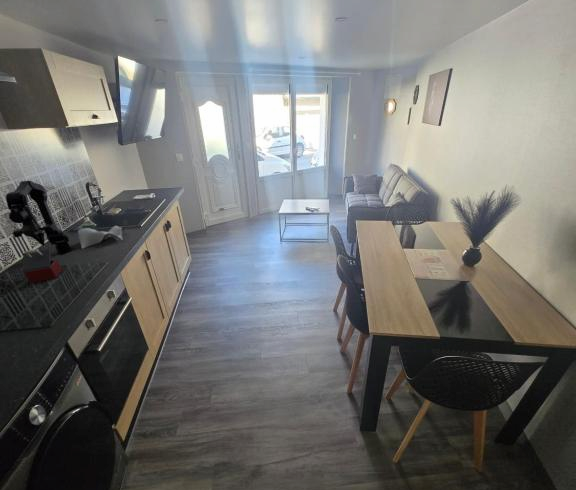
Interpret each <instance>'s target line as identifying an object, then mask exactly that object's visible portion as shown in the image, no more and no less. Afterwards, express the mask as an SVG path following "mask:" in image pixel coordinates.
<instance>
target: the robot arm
mask: <svg viewBox="0 0 576 490" xmlns="http://www.w3.org/2000/svg"><path fill="white" fill-rule="evenodd" d="M28 196H29V197H28ZM29 198H30V199H31V200H32V201H34V202H35V203H36V205H37V208H38V210H39V213H40V214H41V217H42V219H43V221H44V224H45V225H44V226H41V224H39V222H38V220H37V217H36V216H35V215H34V213H33V212H32V210H31V208H30V206H31V205H30V204H29ZM5 200H6V205H7V209H8V210H9V211H10V212H9V214H8V218H9V220H10V221H11V222H13V223H15V224H22V226H21V228H16V229H14V230H13V231H12V235H13V237H14V238H20V237H22V236H23V235H24V236H25V237H28V238H32V239H34V240H35V241H36V242H38V243H39V244H40V245H41V246H45V236H46V239H47V241H48V243H50V244H51V246H53V245H54V248H55V250H56V252H57V253H58V254H61V255H64V254H67V253H69V252H72V251H74V249H73V248H71V246H70V243H69V242H70V238H69V236H68V235H66V234H65V233H64V232H63V230H62V229H61V228H59V227H58V226H57V223H56V221H55V219H54V217H53V214H52V212H51V209H50V207H49V205H48V202H47V200H48V192H47V189H46V187H45V186H44V185H42V184H40V183H36V182H34V181H32V180H23V181H20V182H19V185H18V186H17V187H16V189H15V190H13V191H10V192H8V193H6V195H5Z"/></svg>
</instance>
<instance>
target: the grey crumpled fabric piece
mask: <svg viewBox="0 0 576 490" xmlns="http://www.w3.org/2000/svg"><path fill="white" fill-rule="evenodd" d="M122 231H123V232H124V233H126V231H125V229H124V228H123V227H122V226H118V225H114V226H112V227H111V228H110V229H109V230H108V232H107V231H98V230H97V229H93V228H90V227H85V228H81V229H78V230H77V232H78V238H79V243H80V247H81V249H82V250H83V249H85V248H88V247H90V246H93V245H97V244H100V243H101V242H102V241H103V240H105V241H107V240H108V237H109V236H110V237H112V238H113V239H114V240H115V241H119V239H120V240H122V241H124V238H123V233H122Z"/></svg>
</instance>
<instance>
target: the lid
mask: <svg viewBox="0 0 576 490" xmlns="http://www.w3.org/2000/svg"><path fill="white" fill-rule="evenodd" d="M50 261H51V249H50V248H49V249H42V250H39V249H38V248H36V249H29V250H24V251H23V253H22V268H21V271H22V272H23V273H24V272H25V271H31V270H36V269H42V268H47V267H50Z"/></svg>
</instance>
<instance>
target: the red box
mask: <svg viewBox="0 0 576 490" xmlns="http://www.w3.org/2000/svg"><path fill="white" fill-rule="evenodd" d="M62 271H63V268H62V266H61V264H60V263H59V261H58V259H50V267H47V268H42V269H36V270H31V271H25V272H23V274H24V275H25V277H26V279H27V280H28V282H29V284H30V283H31V284H32V283H37V282H41V281H42V282H43V281H47V280H52V279H57V278H58V277H59V275H60V274H61V272H62Z"/></svg>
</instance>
